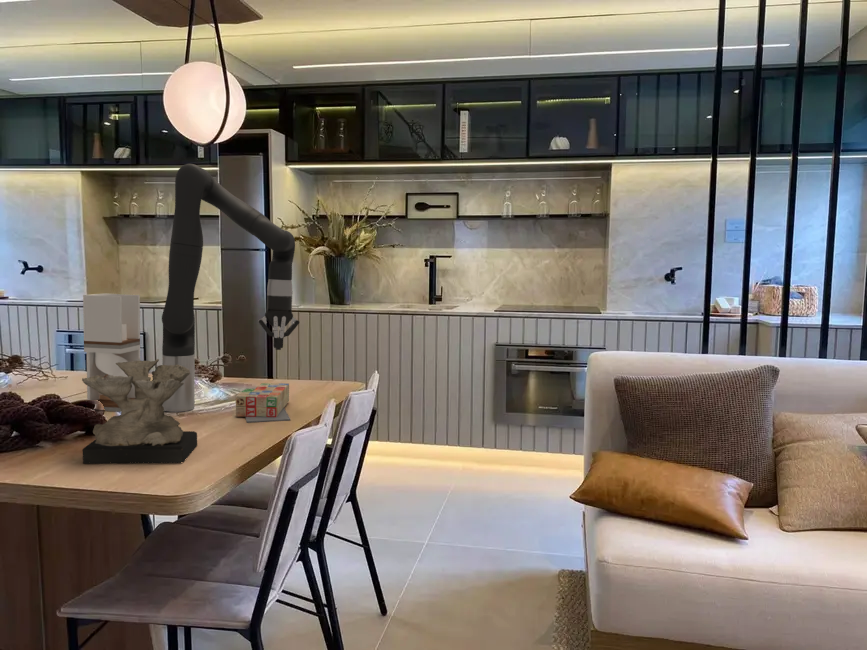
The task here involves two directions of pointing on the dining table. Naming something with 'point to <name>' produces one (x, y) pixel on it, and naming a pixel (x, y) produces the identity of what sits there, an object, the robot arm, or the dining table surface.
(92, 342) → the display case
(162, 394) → the coral
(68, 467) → the dining table surface
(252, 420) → the mat
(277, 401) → the stack of blocks
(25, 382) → the dining table surface
